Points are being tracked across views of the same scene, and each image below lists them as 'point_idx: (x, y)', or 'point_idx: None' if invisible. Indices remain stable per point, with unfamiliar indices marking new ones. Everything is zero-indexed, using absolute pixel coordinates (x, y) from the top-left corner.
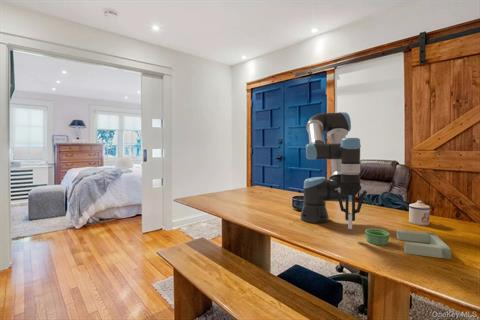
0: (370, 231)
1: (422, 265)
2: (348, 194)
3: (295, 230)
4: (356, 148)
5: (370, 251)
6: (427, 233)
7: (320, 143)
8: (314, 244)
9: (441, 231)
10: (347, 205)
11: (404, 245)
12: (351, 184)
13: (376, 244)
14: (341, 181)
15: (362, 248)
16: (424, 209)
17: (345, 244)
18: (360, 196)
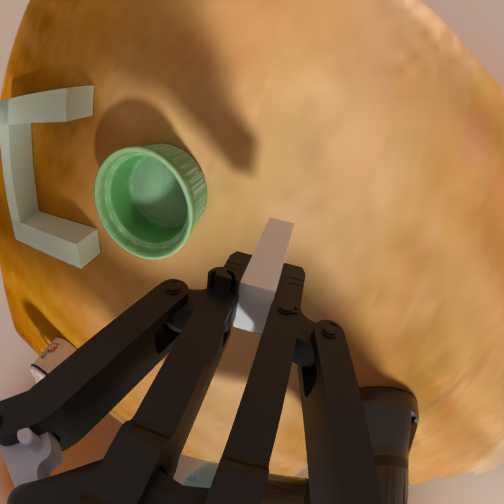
0: (169, 242)
1: (85, 4)
2: (208, 502)
3: (500, 306)
4: None
5: (220, 52)
6: (23, 234)
7: None
8: (488, 124)
9: (33, 298)
10: (266, 364)
11: (76, 112)
12: None
13: (172, 145)
14: None
15: (251, 81)
16: (36, 365)
17: (333, 125)
18: (74, 418)
